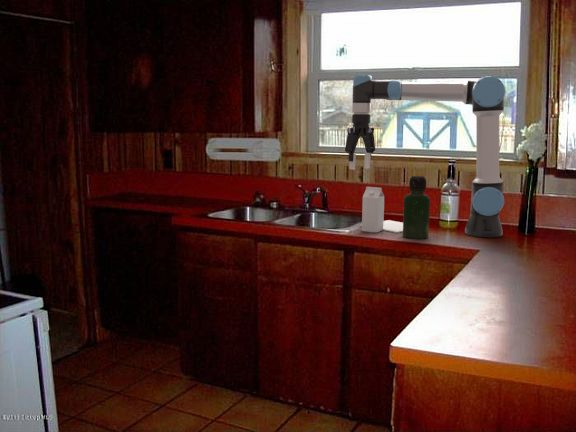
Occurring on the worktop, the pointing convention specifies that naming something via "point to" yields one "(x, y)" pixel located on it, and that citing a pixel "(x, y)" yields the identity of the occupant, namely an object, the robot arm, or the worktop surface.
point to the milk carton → (373, 210)
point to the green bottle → (416, 210)
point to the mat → (392, 226)
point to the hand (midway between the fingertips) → (359, 168)
